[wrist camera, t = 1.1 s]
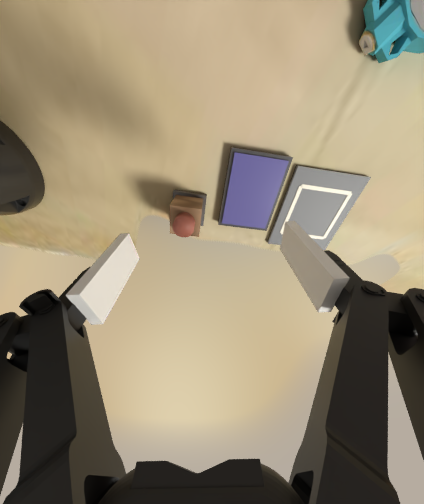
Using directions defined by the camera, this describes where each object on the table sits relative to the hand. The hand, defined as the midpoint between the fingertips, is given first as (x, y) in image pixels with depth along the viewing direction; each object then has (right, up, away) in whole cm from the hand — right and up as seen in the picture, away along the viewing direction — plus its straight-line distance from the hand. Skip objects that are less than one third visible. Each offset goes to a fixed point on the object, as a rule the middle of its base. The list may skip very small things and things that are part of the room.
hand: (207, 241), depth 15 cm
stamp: (-4, +7, +15) cm, 17 cm away
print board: (+18, +6, +16) cm, 25 cm away
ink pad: (+7, +9, +14) cm, 18 cm away
